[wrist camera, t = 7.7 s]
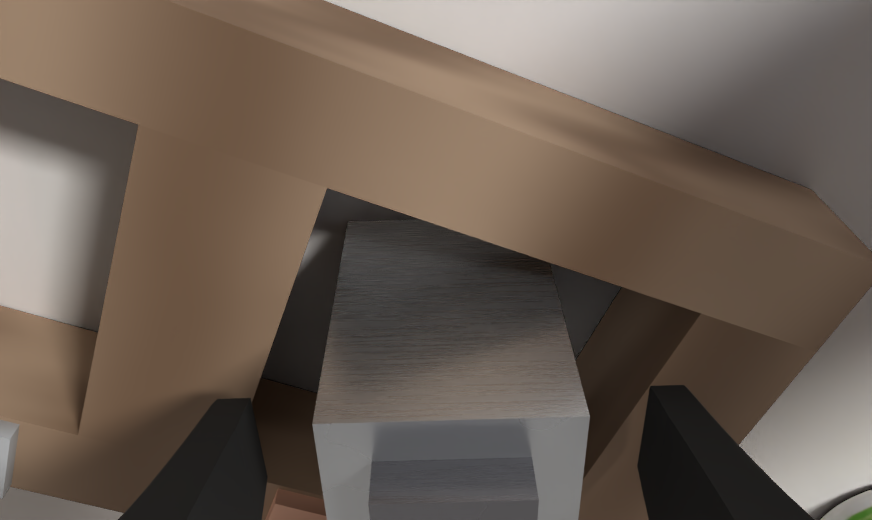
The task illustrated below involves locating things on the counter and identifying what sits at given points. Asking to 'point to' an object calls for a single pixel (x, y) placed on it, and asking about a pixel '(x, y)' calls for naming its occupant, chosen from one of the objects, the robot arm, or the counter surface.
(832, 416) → the counter surface
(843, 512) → the supplement bottle
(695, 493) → the robot arm
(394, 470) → the plug
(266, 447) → the socket board
